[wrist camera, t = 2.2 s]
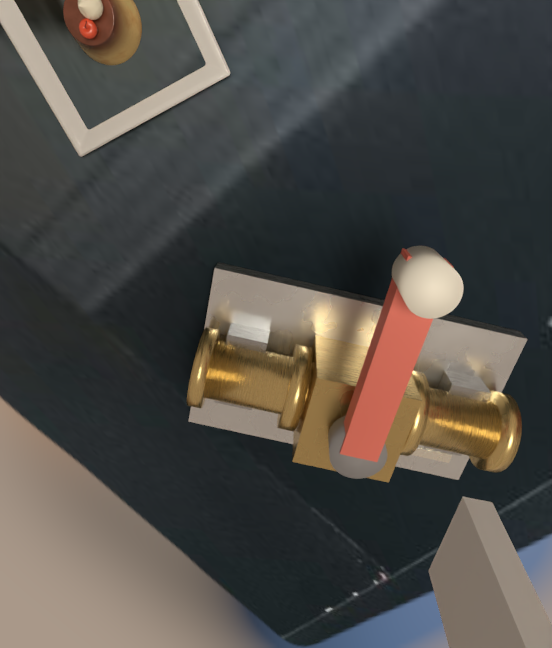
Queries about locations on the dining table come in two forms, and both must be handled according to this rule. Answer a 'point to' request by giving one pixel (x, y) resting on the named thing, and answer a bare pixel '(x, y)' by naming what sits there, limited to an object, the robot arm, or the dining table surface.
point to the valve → (349, 375)
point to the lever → (392, 358)
